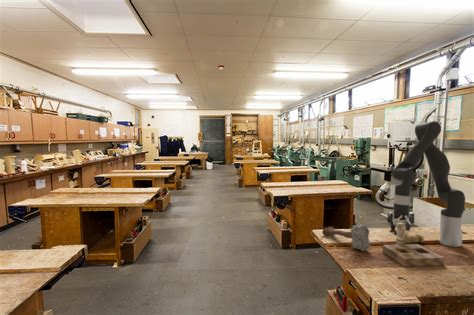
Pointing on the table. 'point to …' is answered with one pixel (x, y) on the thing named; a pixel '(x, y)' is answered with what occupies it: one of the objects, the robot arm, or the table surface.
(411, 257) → the walnut board
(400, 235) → the birch peg
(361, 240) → the hammer
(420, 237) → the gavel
